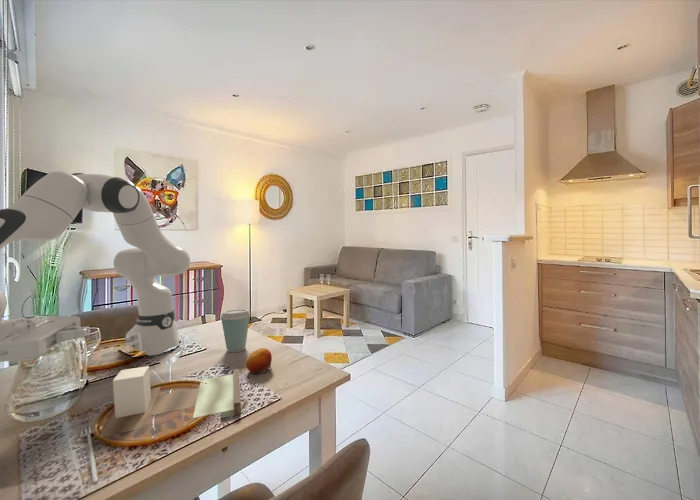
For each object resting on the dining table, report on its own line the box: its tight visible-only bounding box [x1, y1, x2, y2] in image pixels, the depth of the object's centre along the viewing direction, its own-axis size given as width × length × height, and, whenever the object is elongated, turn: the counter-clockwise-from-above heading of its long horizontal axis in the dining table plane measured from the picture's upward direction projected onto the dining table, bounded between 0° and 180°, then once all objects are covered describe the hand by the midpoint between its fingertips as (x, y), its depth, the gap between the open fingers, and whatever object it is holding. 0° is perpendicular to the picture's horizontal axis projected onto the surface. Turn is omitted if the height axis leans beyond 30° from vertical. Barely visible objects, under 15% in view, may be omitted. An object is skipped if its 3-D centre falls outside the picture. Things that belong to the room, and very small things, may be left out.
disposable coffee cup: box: [220, 308, 251, 353], centre depth 119 cm, size 11×11×15 cm
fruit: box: [245, 347, 273, 374], centre depth 101 cm, size 8×8×8 cm
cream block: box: [112, 365, 151, 418], centre depth 77 cm, size 6×6×9 cm
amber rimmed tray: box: [98, 368, 242, 438], centre depth 81 cm, size 28×20×3 cm
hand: (87, 331), depth 73 cm, fingers closed
